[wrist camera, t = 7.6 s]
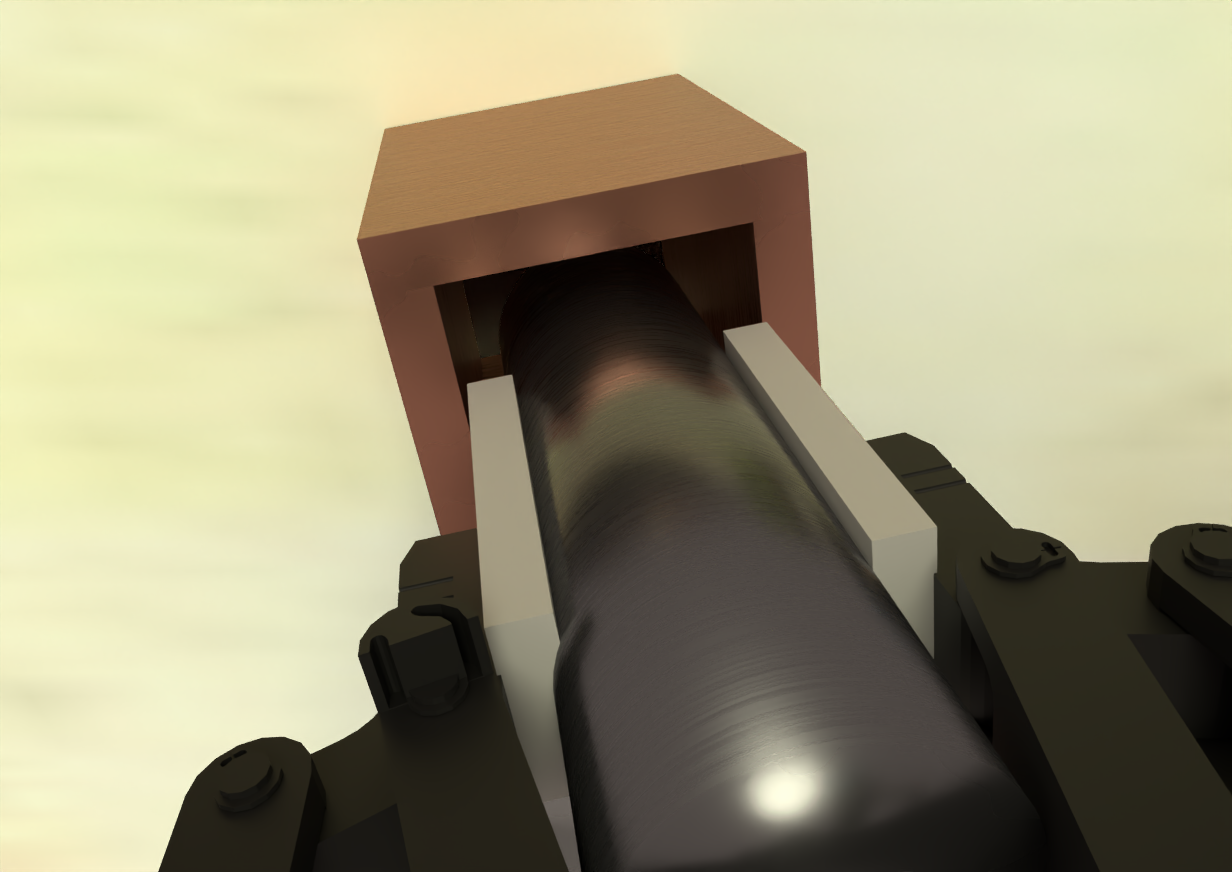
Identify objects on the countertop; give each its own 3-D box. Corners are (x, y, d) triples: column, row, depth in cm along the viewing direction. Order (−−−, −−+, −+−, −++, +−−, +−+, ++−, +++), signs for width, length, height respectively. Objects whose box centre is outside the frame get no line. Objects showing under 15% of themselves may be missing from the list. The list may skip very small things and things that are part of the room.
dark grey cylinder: (676, 223, 20) (1062, 693, 8) (699, 400, 22) (1038, 1005, 10) (480, 262, 20) (555, 814, 7) (520, 438, 22) (632, 1113, 9)
